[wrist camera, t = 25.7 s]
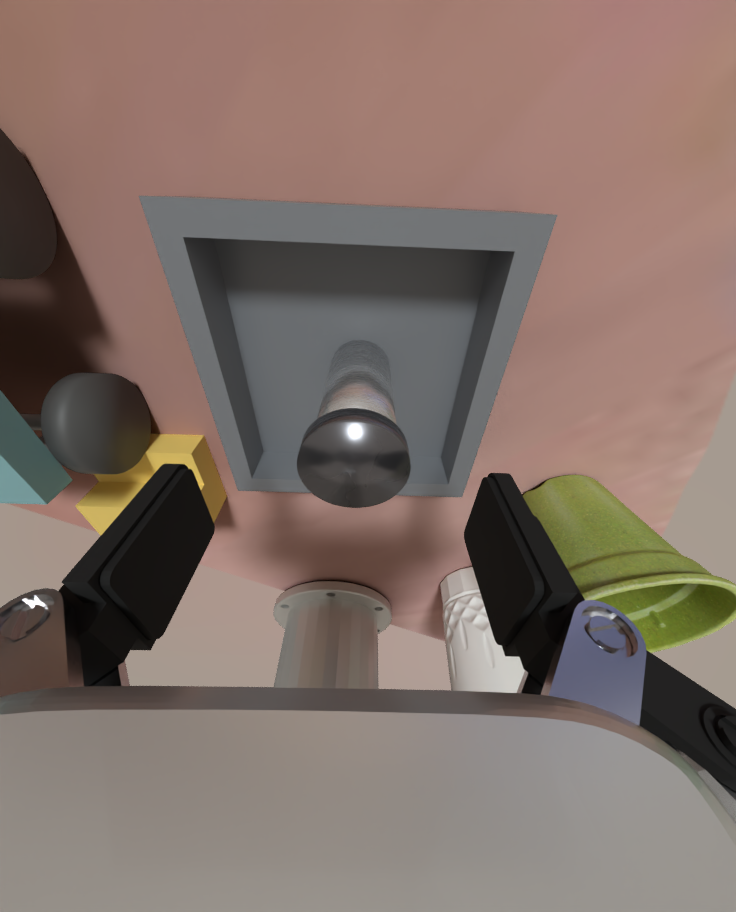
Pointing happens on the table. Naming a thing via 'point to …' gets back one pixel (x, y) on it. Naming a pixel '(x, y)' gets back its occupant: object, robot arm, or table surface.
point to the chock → (162, 449)
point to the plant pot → (630, 564)
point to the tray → (347, 319)
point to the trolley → (73, 397)
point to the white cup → (474, 640)
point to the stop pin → (355, 433)
